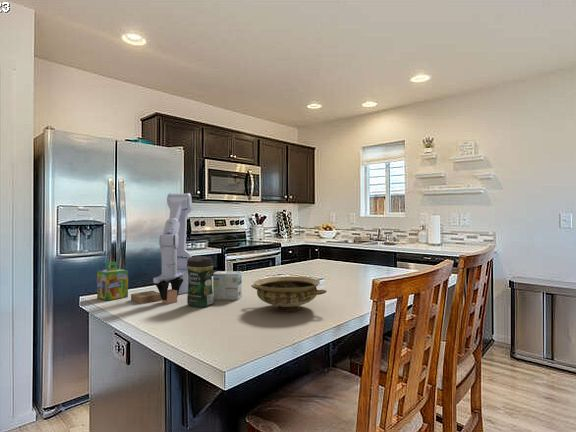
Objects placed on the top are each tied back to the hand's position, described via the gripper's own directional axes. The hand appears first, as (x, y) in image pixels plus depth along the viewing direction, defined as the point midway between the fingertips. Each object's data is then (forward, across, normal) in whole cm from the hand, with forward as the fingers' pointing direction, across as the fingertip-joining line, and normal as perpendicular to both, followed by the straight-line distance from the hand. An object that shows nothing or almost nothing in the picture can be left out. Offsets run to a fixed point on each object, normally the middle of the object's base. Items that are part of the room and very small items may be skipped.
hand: (169, 298), depth 144 cm
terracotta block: (+1, 0, 0) cm, 1 cm away
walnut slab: (+2, +1, -11) cm, 11 cm away
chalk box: (+2, +4, -28) cm, 28 cm away
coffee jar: (+2, -1, +14) cm, 14 cm away
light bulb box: (+2, -15, +17) cm, 23 cm away
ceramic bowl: (+2, -10, +47) cm, 48 cm away
